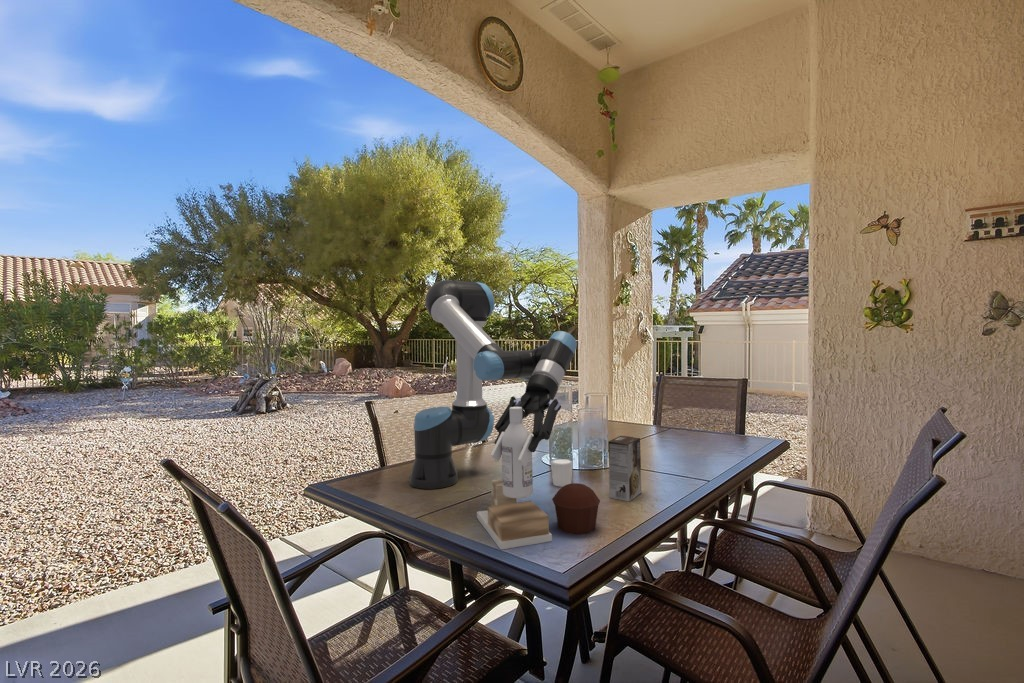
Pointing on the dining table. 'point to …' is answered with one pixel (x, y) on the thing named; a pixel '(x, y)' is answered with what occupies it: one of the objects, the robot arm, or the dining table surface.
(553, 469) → the white cup
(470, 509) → the dining table surface
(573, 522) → the muffin
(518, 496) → the bath foam
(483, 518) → the base board
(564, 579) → the dining table surface
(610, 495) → the coffee box
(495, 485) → the beech post
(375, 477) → the dining table surface
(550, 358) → the robot arm
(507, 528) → the oak plinth
